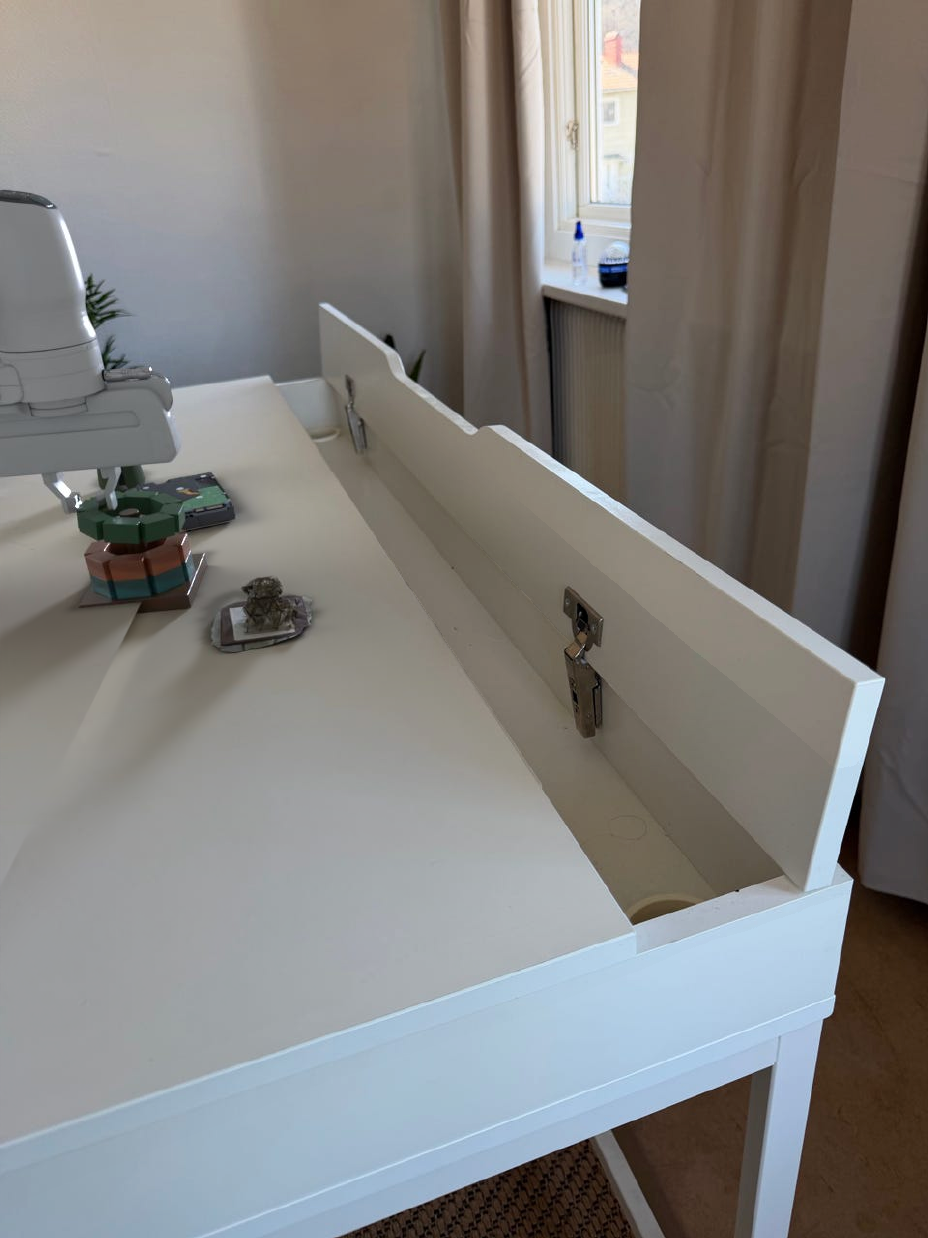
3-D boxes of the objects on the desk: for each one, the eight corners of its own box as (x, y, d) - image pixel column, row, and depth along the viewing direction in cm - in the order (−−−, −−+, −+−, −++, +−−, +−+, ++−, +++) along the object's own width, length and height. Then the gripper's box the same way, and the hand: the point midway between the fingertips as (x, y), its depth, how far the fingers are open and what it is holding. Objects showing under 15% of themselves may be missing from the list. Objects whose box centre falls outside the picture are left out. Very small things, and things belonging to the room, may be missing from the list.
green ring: (68, 541, 93) (66, 522, 92) (95, 506, 102) (93, 488, 101) (173, 545, 94) (172, 526, 93) (190, 510, 103) (189, 492, 102)
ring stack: (82, 618, 96) (58, 536, 92) (108, 574, 106) (88, 498, 102) (191, 607, 96) (172, 525, 92) (207, 565, 106) (191, 489, 102)
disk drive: (138, 505, 127) (154, 539, 114) (133, 485, 126) (149, 517, 113) (215, 489, 130) (238, 520, 118) (211, 470, 129) (234, 499, 117)
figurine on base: (275, 573, 100) (329, 557, 92) (291, 632, 100) (347, 622, 92) (170, 599, 92) (219, 585, 84) (188, 663, 93) (239, 655, 84)
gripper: (172, 358, 94) (198, 490, 100) (-39, 375, 93) (2, 508, 99) (159, 372, 88) (188, 511, 94) (-65, 390, 87) (-21, 530, 93)
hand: (91, 510), depth 97 cm, fingers closed on green ring, 2 cm apart
